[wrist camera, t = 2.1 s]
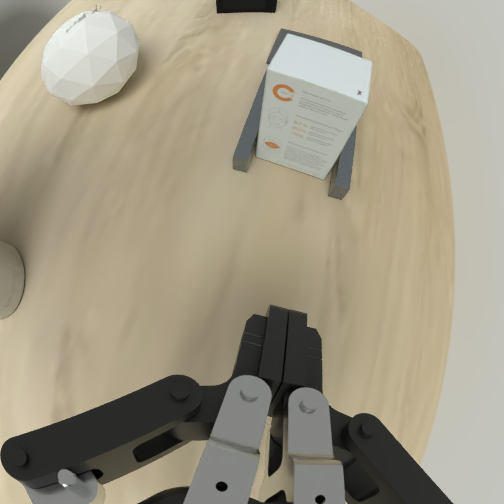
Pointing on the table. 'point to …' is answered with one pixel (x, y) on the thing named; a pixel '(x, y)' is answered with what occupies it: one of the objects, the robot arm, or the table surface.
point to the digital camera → (245, 6)
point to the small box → (311, 104)
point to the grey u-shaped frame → (250, 136)
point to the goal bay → (284, 32)
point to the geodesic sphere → (90, 57)
